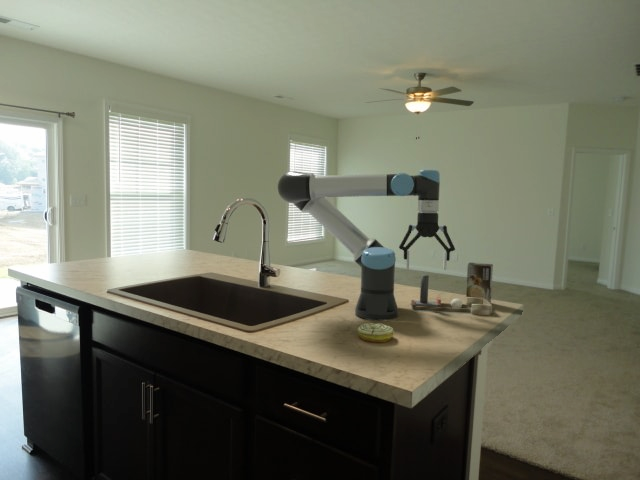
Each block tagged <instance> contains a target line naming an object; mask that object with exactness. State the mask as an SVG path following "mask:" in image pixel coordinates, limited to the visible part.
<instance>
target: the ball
mask: <svg viewBox="0 0 640 480" xmlns="http://www.w3.org/2000/svg"><path fill="white" fill-rule="evenodd" d="M450 303H451V306H452V308H461V307H462V304H463V303H462V301H461V299H459V298H453V299H452V300H451V301H450Z"/></svg>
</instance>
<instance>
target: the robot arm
mask: <svg viewBox="0 0 640 480" xmlns="http://www.w3.org/2000/svg"><path fill="white" fill-rule="evenodd" d="M440 181H441V179H440V172H439V170H437V169H421V170H419V171H418V175H417V174H416V175H410V174H408V173H406V172H402V173H401V172H400V173H390V174H388V173H385V174H384V173H383V174H382V173H381V174H380V173H379V174H377V173H376V174H345V175H343V174H340V175H339V174H338V175H337V174H335V175H334V174H332V175H315V174H314V173H313V172H301V171H293V170H292V171H288V172H286V173H284V174H283V175H282V176H280V178H279V180H278V182H277V183H278V184H277V192H278V194H279V196H280V198H281V199H282V200H284V201H285V202H287V203H289V204H293V206H294V205H295V207H296V208H298V209H299V210H300V212H302V213H308V214H310V215H311V217H313V218H314V219H315V220H316V221H317V222H318V223H319V224H321V226H322V227H323V228H324V229H326V231H328V232H329V233H330V234H331V235H332V236H333V237H334V239H336V240H337V241H338V242H339V243H341V245H343V246H344V247H345V249H347V250H348V252H350V253H351V254H352V255H353V261H354V262H355V263H356V264H357V265H358V266H359V267H360V268H361V269H360V270H361V275H360V276H361V279H360V294H359V295H358V299H357V302H356V305H355V309H354V310H355V311H354V312H355V313H354V314H355V315H356V317H360V318H362V319H366V320H372V321H389V320H393V319H396V318H398V317H399V309H398V304H397V301H396V297H395V294H394V293H395V274H396V273H395V267H396V254H395V251H394V250H392V249H390V248H388V247H384V246H383V244H381V243H380V242H379V241H378V240H377V239H376V238H369V237H368V236H367V235H366V234H365V233H364V232H362V230H361V229H360V228H358V227H357V225H355V224H354V223H353V222H352V221H351V220H350V219H349V218H348V217H347V216H345V214H343V212H341V211H340V210H339V209H338V208H337V207H336V206H335V205H334V204H333V203H332V202H331V201H330V200H328V199H327V198H343V197H344V198H345V197H347V198H349V197H353V198H354V197H357V198H358V197H408V196H409V197H411V196H413V197H417V200H418V201H417V211H418V213H417V216H416V217H417V224H416V225H412V224H409V225H408V227H407V228H408V229H407V232H406V233H405V235H404V237H403V239H402V241H401V242H400V244H399V246H398V248H399V250H402V251H403V260H406V269H408V270H409V269H410V267H409V266H410V250H409V249H410V248H411V247H412V246H413V245H414V244H415V243H416V242H417V240H419V238H420V237H422V238H433V237H434V238H435V239H436V240H437V242H438V243H439V244H440V245H441V247H442V248H443V249H444V250H445V251H443V259H442V260H443V263H442V269H443V270H444V271H446V270H447V262H449V261H450V255H451V252H453V251H455V250H456V248H455V245H454V244H453V241H452V239H451V237H450V235H449V232H448V226H446V224H443V225H439V213H438V212H439V205H440V188H441V187H440V185H441V183H440ZM414 230H416V231H417V233H416V234H415V235H414V237H413V238H411V240H410V241H409V242H408V243H407V241H408V240H409V237H410V236H411V233H412V232H413V231H414ZM439 230H440V232H442V234H443V235H444V237H445V239H446V241H447V244H448V246H449V247H448V246H447V245H446V243H445V241H444V240H442V239H441V237H440V236H439V234H437V232H438V231H439ZM406 243H407V244H406ZM405 244H406V245H405Z"/></svg>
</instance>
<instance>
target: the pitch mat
mask: <svg viewBox="0 0 640 480" xmlns="http://www.w3.org/2000/svg"><path fill="white" fill-rule="evenodd" d="M410 308H411V310H412V311H413V312H424V313H425V312H427V313H446V314H450V313H451V314H461V315H462V314H463V315H464V314H465V315H472V314H471V313H469V312H450V311H431V310H413V309H412V305H411V304H410ZM448 308H452V307H448ZM467 309H471V307H467Z"/></svg>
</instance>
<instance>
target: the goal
mask: <svg viewBox="0 0 640 480" xmlns="http://www.w3.org/2000/svg"><path fill="white" fill-rule="evenodd" d="M465 304H467V307H471V314H470V315H480V316H483V315H484V316H485V315H486V316H492V315H493V305H492V303H491V304H490V303H489V302H488V301H487V300H486V299H485V298H474V297H466V296H465Z"/></svg>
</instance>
